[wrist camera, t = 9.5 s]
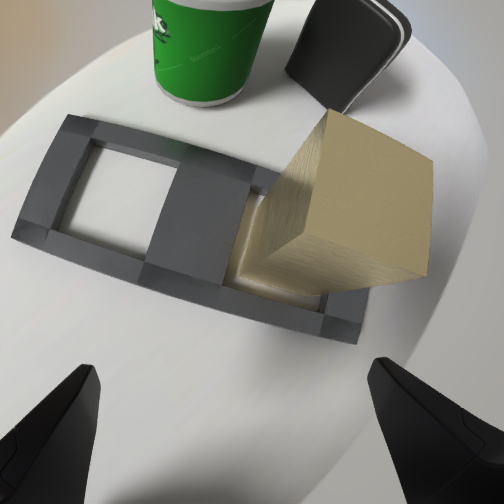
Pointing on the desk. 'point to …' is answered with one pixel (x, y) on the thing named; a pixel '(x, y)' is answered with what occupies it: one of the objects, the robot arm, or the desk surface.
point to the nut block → (343, 214)
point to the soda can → (206, 47)
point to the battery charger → (346, 48)
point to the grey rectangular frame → (175, 227)
